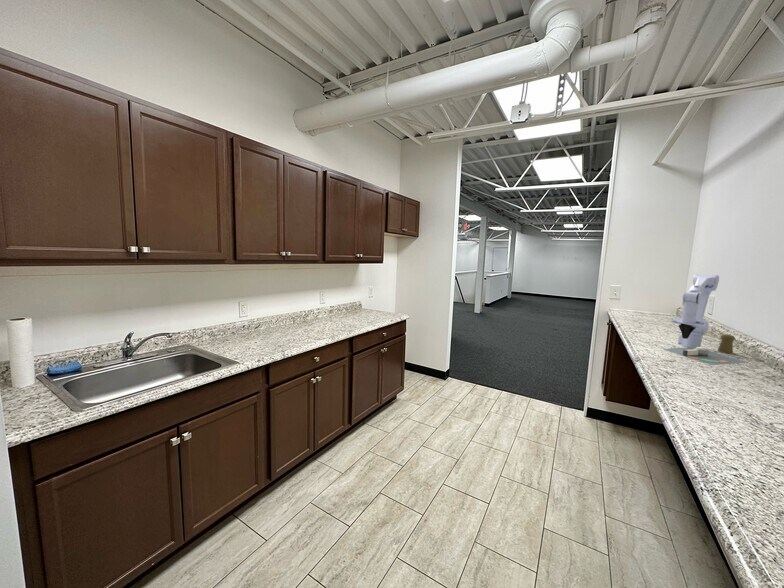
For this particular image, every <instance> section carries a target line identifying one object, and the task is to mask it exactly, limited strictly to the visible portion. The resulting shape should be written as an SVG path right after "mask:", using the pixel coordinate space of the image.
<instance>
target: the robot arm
mask: <svg viewBox="0 0 784 588" xmlns="http://www.w3.org/2000/svg"><path fill="white" fill-rule="evenodd" d="M719 281H720V276H719V274H702V273H695V274H694V275H693V278H692V283H693V285H691V286H690V288H689V289H688V291H685V292H684V293H683V295H682V311H681V315H680V316H681V317H680V319H678V318H672V319H671V323H673V324H674V323H675V324H678V328H679V330H680V334H679V335H678V339H677V345H679V346H682V347H684V348H697V347H702V341H703V336H705V335H707V333H708V329H709V321H707V320H706V319H705V318H704V317H705V313H706V308H707V305H708V302H709V298H710V295H711V294H712V292H715V291H716V290H717V289H718V285H719Z"/></svg>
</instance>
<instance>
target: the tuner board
mask: <svg viewBox="0 0 784 588" xmlns="http://www.w3.org/2000/svg"><path fill="white" fill-rule="evenodd" d="M693 349H694V348H689V347H673V348H672V347H671V348H662V350H664V351H666V352H670V353H673V354H676V355H679V356H683V357H686V358H689V359H693V360H694V361H697V362H698V361H699V362H702V363H704V364H708V365H710V366H714V365H731V364H733V365H734V364H745V363H746V364H747V363H749V362H748V361H744V360H741V359H738V358H734V357H730V356H726V355H723V354H720V353H716V352H713V351H709V350H708V356H701V355H683V350H693Z"/></svg>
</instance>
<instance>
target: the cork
mask: <svg viewBox="0 0 784 588" xmlns="http://www.w3.org/2000/svg"><path fill="white" fill-rule="evenodd" d="M735 338H736V337H735V336H734V335H732V334H726V333H725V334H724V333H723V334H721V335H720V339H721V341H720V343H719V346H718V348H717V352H719V353H724V354H734V352H733V351H734V348H733V347H734V345H733V343H734V341H735Z"/></svg>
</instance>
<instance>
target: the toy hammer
mask: <svg viewBox="0 0 784 588" xmlns="http://www.w3.org/2000/svg"><path fill="white" fill-rule="evenodd" d="M708 351H709V350H707V348H706V347H702V346H701V347H697V348H694V349H693V350H683V355H701V356H708Z"/></svg>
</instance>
